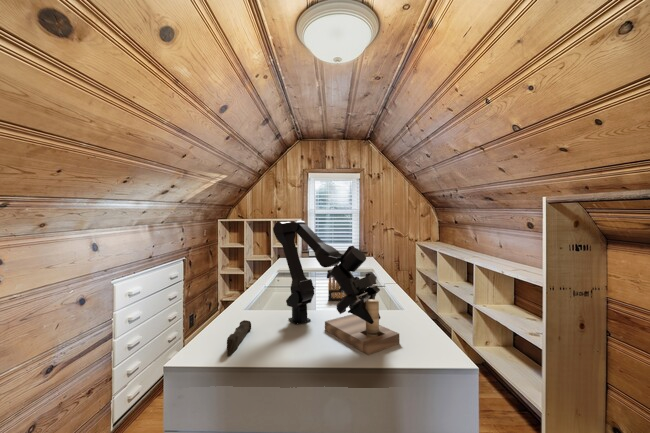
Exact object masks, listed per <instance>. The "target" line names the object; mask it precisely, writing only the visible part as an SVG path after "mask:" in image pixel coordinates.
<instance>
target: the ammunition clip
mask: <svg viewBox="0 0 650 433" xmlns="http://www.w3.org/2000/svg"><path fill="white" fill-rule="evenodd" d="M327 286H328V288H327V289H328V293H327V294H328V295H327V296H328V298H327V299H328V302H340V301H341V300H342V299H343V298H344V297H345V296H346V294H345V293H344V292H343V291H342V292H340V291H339V289H340V288H341V287H340V286H339V285H338V283H337V282H336V281H335V279H334V278H333V277H332V278H328V285H327Z"/></svg>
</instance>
